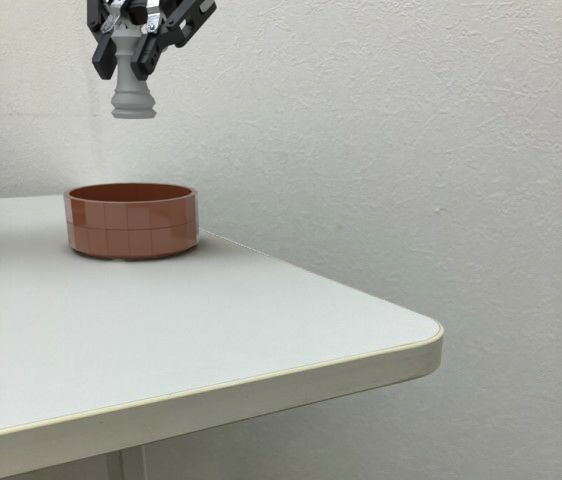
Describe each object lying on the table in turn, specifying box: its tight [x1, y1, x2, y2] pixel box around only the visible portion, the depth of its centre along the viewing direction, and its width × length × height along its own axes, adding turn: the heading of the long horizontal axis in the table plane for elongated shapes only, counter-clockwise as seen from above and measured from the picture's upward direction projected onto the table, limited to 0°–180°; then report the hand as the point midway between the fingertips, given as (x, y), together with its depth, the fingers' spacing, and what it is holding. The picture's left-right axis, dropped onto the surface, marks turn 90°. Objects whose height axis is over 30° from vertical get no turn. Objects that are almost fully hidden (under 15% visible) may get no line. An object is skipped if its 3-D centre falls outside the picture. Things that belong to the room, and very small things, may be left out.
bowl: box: [63, 181, 200, 261], centre depth 73 cm, size 14×14×6 cm
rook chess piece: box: [110, 25, 158, 120], centre depth 63 cm, size 4×4×8 cm
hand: (119, 72), depth 61 cm, fingers closed on rook chess piece, 3 cm apart
